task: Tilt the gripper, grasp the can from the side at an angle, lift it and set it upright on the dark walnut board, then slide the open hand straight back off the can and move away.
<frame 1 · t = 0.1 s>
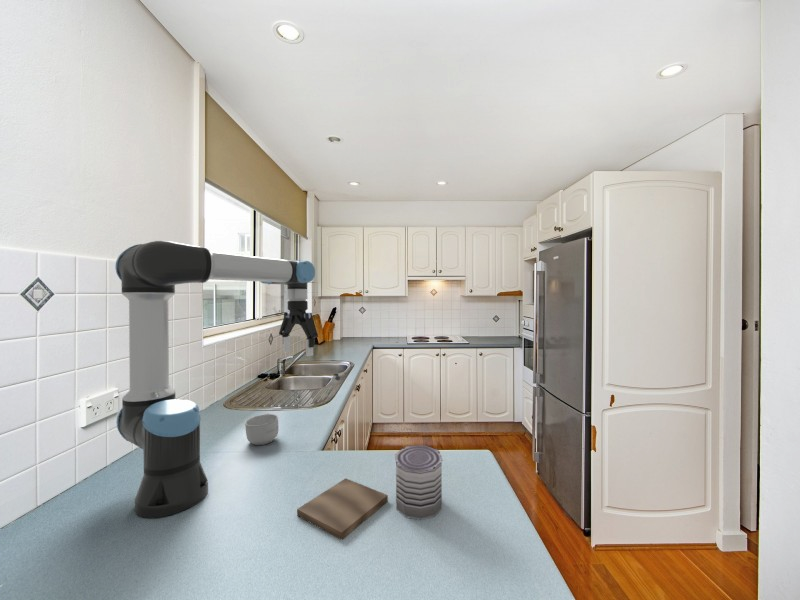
hand: (297, 354, 132), 28 cm above the counter, tool pointing down, fingers open, 13 cm apart
can: (418, 505, 81), on the counter
teacup: (264, 440, 120), on the counter
walnut board: (343, 508, 80), on the counter
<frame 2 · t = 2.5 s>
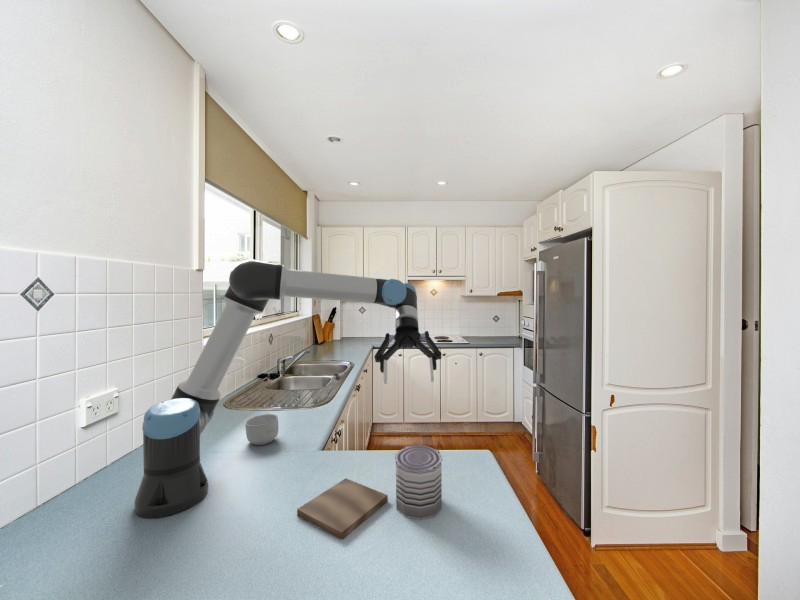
hand: (408, 380, 97), 26 cm above the counter, tool tilted 40°, fingers open, 13 cm apart
nothing on the counter moved.
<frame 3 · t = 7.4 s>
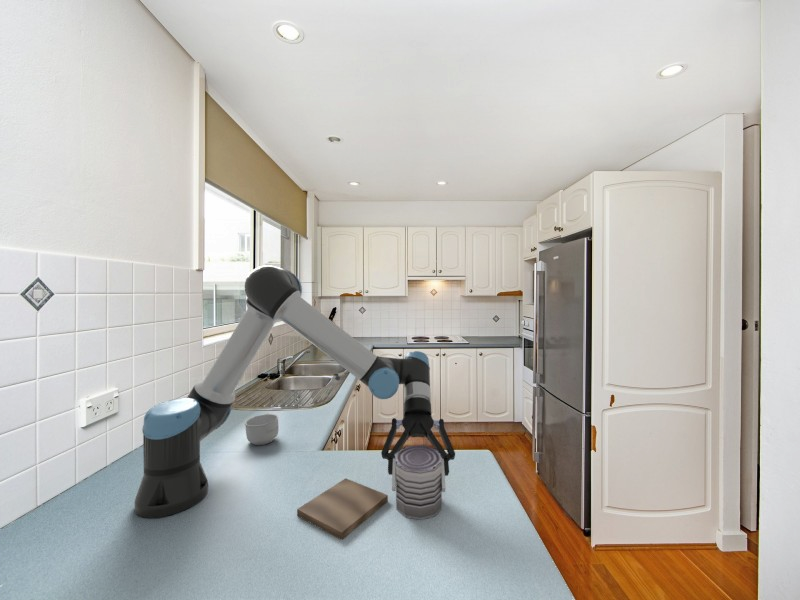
hand: (418, 489, 79), 5 cm above the counter, tool tilted 45°, fingers closed on can, 11 cm apart
can: (418, 505, 81), on the counter, touching gripper
everything else where it was.
when the fingers open (7 cm above the counter, at t = 14.4 s): can moves 2 cm, point 2 cm above the counter.
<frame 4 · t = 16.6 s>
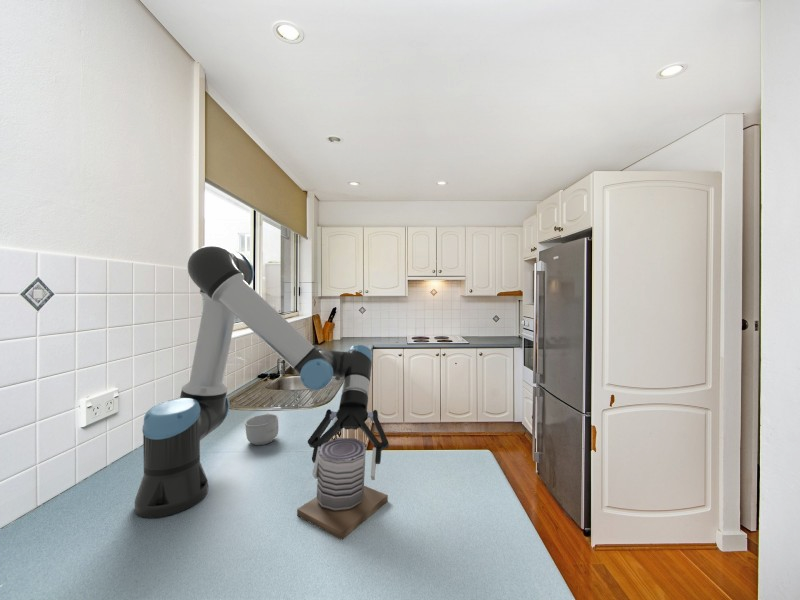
hand: (343, 477, 79), 8 cm above the counter, tool tilted 45°, fingers open, 13 cm apart
can: (340, 497, 82), point 2 cm above the counter, touching gripper
everything else where it was.
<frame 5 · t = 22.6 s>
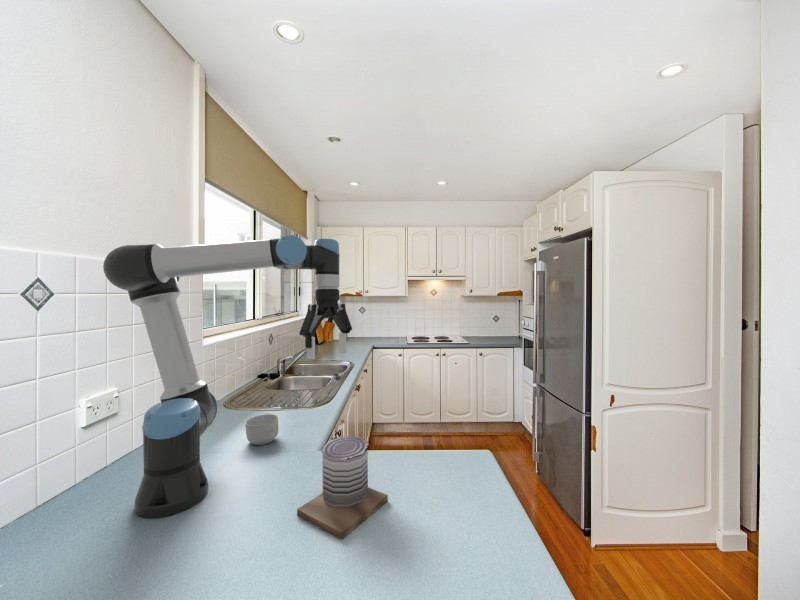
hand: (327, 355, 107), 32 cm above the counter, tool pointing down, fingers open, 13 cm apart
can: (345, 494, 84), point 1 cm above the counter, touching walnut board
everything else where it was.
at the end: can inside the target area on the walnut board (3.5 cm from its centre), point 1.3 cm above the walnut board's base; can tilted 0°; the gripper is holding nothing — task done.
